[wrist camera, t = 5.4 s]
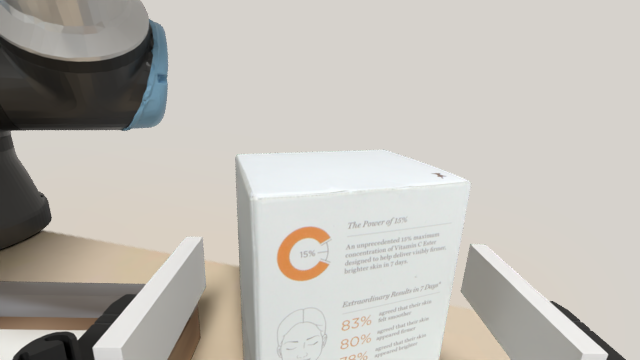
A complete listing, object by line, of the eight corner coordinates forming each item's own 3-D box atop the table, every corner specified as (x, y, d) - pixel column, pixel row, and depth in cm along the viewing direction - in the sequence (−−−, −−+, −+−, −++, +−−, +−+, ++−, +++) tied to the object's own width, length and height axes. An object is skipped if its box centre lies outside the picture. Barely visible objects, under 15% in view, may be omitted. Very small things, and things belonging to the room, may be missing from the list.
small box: (366, 341, 20) (386, 147, 17) (428, 441, 15) (479, 179, 11) (241, 373, 18) (232, 150, 14) (257, 509, 12) (250, 195, 8)
